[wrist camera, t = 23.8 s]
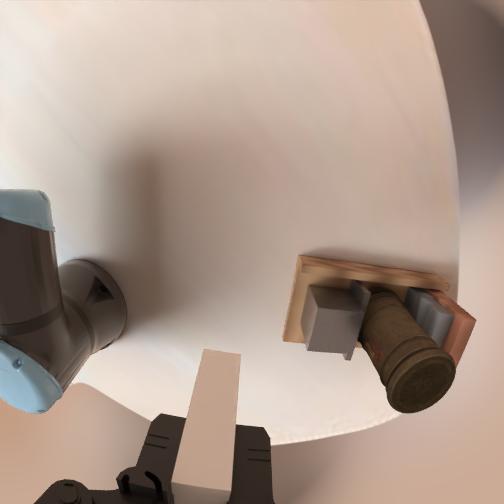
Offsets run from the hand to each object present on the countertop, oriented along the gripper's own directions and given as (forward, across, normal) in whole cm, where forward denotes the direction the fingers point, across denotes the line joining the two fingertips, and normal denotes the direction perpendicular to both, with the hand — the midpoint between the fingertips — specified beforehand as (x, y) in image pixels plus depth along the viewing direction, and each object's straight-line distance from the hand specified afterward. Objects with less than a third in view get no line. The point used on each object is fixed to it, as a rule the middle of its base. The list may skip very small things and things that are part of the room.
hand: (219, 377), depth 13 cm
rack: (+32, +20, -10) cm, 39 cm away
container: (+31, +21, -10) cm, 39 cm away
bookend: (+31, +13, -10) cm, 35 cm away
